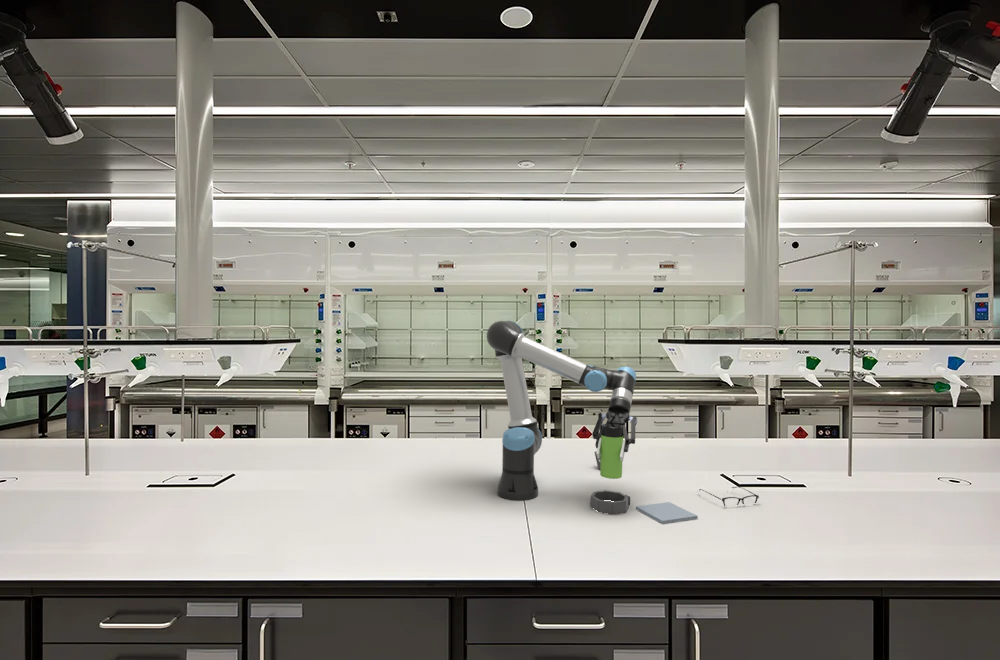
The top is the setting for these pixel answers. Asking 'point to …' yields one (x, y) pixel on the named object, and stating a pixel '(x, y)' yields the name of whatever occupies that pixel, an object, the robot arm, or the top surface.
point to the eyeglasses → (736, 497)
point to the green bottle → (611, 451)
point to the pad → (666, 512)
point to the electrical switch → (598, 460)
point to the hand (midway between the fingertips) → (609, 457)
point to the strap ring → (609, 502)
